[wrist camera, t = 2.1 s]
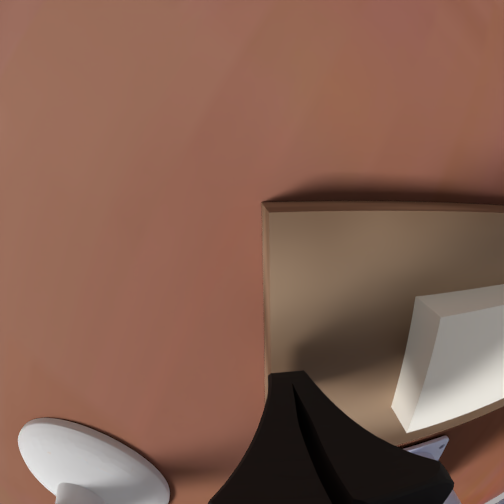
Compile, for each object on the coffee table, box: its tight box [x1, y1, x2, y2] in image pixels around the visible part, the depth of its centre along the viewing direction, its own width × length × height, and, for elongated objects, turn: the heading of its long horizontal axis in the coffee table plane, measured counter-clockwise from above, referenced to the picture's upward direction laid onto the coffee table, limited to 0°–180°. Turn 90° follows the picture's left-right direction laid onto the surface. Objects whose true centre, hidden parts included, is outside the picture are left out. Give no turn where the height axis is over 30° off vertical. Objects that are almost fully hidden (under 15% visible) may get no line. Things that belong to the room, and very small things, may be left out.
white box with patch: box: [391, 284, 504, 433], centre depth 12 cm, size 9×6×2 cm, turn 92°
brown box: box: [261, 201, 504, 446], centre depth 14 cm, size 13×18×3 cm
